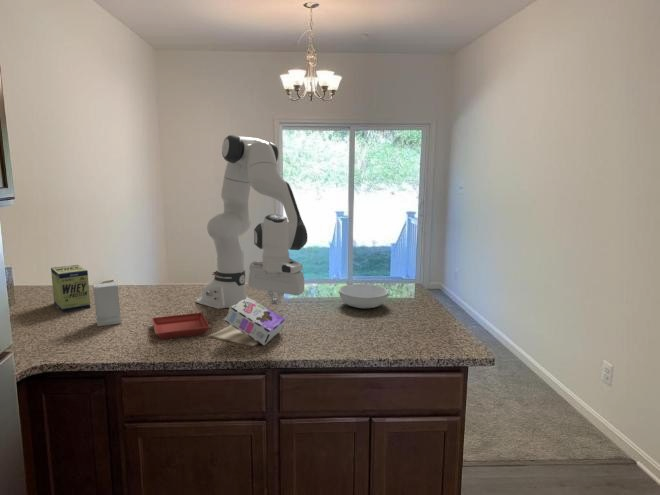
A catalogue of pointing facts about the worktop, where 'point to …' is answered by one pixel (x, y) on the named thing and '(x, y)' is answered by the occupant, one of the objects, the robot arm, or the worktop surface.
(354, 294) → the serving bowl
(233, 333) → the birch board
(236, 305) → the candy box
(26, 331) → the worktop surface
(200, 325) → the plant saucer
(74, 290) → the protein box
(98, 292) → the skincare box
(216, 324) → the worktop surface
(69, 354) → the worktop surface
